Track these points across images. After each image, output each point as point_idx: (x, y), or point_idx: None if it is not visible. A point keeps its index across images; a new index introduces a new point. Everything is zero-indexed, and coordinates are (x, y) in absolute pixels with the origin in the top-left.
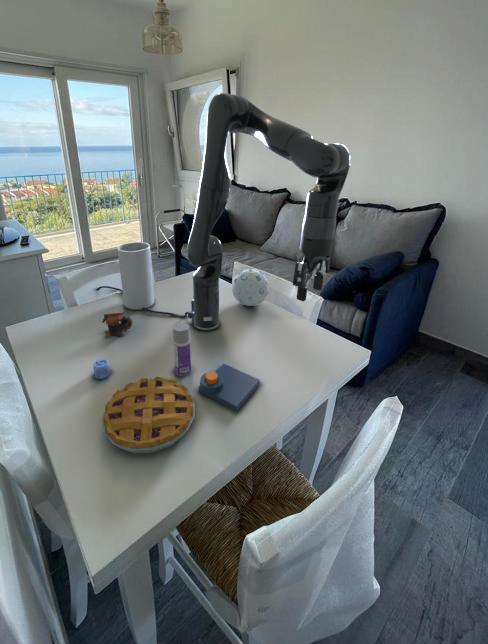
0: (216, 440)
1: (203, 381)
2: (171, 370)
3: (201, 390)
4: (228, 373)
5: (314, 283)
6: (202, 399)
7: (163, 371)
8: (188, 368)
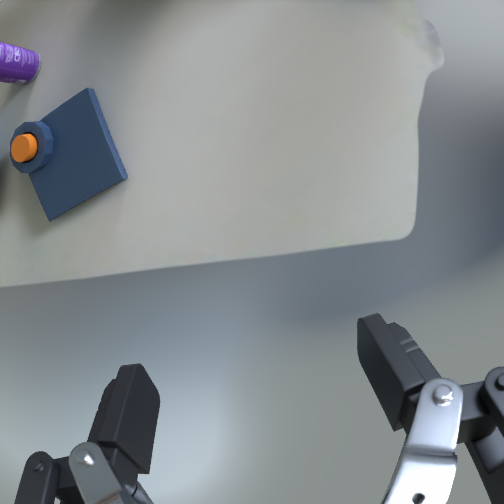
0: (16, 248)
1: None
2: None
3: None
4: (76, 126)
5: (374, 347)
6: None
7: None
8: (22, 80)
